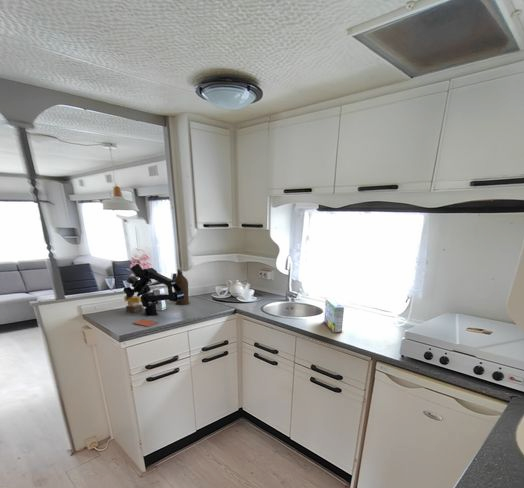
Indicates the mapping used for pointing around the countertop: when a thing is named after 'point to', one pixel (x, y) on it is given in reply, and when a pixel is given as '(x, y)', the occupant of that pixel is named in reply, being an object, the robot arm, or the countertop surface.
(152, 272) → the robot arm
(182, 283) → the olive oil
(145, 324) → the mat
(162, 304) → the syrup box
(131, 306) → the tower
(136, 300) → the bar
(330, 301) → the snack box
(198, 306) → the countertop surface
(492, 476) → the countertop surface
